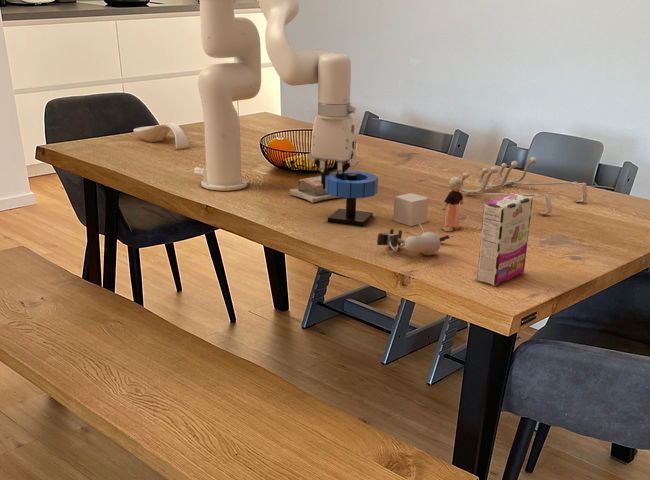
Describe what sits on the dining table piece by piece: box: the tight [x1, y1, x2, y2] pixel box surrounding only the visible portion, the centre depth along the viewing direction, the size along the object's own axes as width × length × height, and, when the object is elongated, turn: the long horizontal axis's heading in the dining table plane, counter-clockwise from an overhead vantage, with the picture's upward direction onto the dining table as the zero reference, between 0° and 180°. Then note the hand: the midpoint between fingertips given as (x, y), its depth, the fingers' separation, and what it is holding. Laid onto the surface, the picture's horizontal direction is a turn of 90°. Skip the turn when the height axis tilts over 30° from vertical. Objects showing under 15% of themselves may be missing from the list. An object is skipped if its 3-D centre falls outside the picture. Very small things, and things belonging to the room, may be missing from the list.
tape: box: [325, 170, 379, 199], centre depth 199 cm, size 12×12×4 cm
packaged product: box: [289, 175, 341, 203], centre depth 223 cm, size 18×5×10 cm
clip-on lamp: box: [376, 223, 453, 256], centre depth 183 cm, size 12×6×18 cm
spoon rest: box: [132, 121, 189, 150], centre depth 272 cm, size 24×12×7 cm, turn 47°
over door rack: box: [460, 156, 588, 215], centre depth 226 cm, size 22×29×10 cm
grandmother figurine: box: [441, 175, 465, 232], centre depth 197 cm, size 8×4×13 cm, turn 148°
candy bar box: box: [476, 192, 534, 287], centre depth 167 cm, size 11×5×16 cm, turn 138°
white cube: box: [392, 192, 430, 227], centre depth 203 cm, size 6×6×6 cm
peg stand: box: [327, 173, 374, 228], centre depth 201 cm, size 9×9×11 cm
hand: (332, 187), depth 201 cm, fingers closed on tape, 2 cm apart
